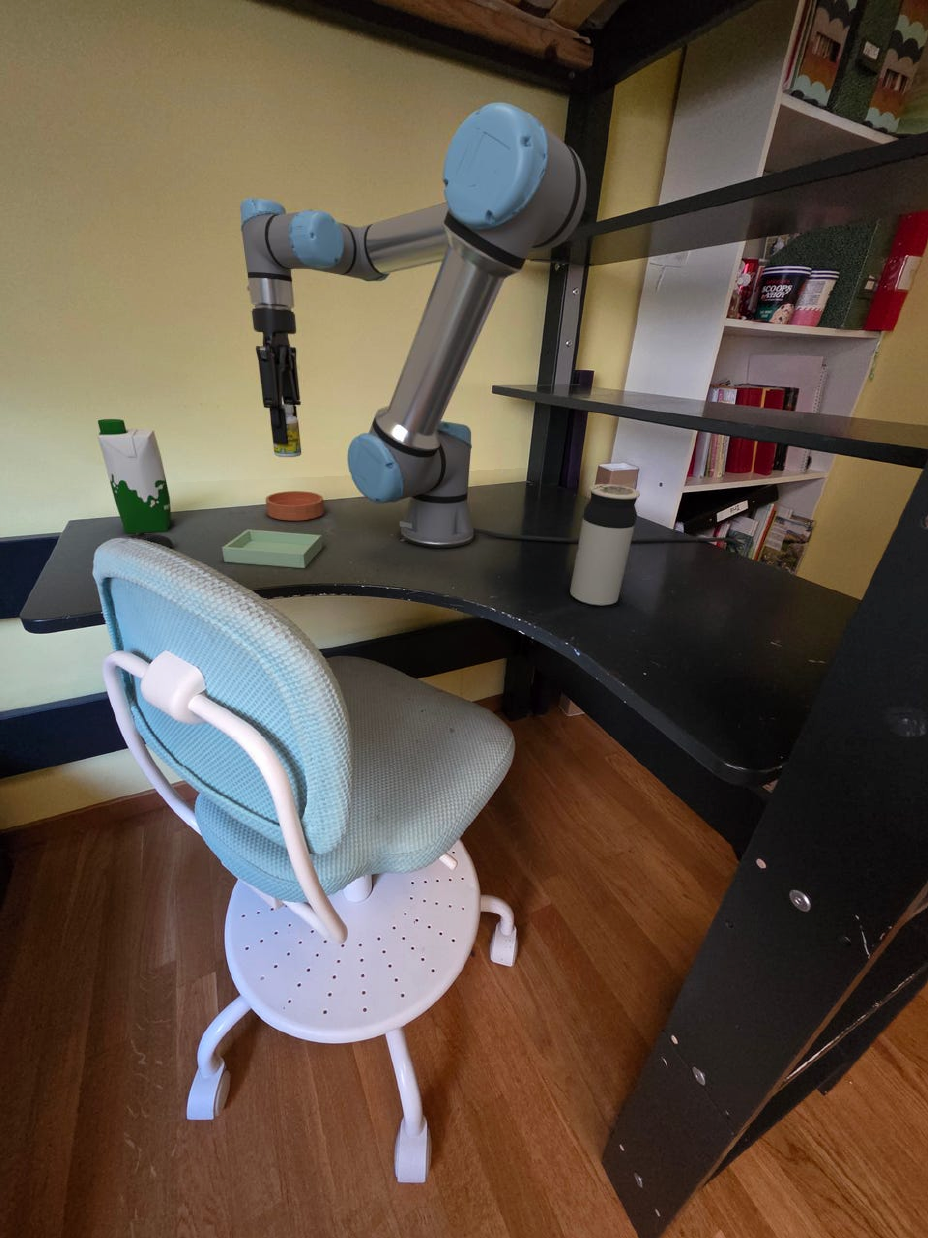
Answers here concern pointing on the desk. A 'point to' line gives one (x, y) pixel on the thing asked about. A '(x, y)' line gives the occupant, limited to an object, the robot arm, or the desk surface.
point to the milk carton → (135, 476)
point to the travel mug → (604, 544)
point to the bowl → (294, 505)
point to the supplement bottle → (289, 435)
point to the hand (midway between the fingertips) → (286, 440)
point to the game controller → (153, 538)
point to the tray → (273, 548)
